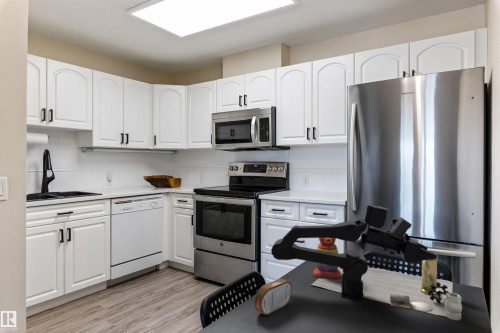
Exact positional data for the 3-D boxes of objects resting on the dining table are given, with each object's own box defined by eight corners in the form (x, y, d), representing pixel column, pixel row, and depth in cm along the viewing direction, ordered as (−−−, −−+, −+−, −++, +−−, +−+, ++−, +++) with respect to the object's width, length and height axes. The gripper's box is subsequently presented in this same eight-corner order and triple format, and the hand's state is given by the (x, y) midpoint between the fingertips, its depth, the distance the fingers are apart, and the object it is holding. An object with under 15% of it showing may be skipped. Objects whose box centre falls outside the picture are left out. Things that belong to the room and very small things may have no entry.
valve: (469, 321, 89) (448, 302, 101) (469, 298, 89) (448, 282, 101) (444, 320, 90) (426, 301, 102) (444, 297, 90) (426, 281, 102)
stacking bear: (313, 277, 123) (313, 231, 122) (313, 268, 132) (313, 226, 132) (341, 279, 120) (342, 233, 120) (340, 270, 130) (340, 227, 130)
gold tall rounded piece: (422, 294, 107) (422, 256, 107) (419, 288, 112) (420, 252, 112) (438, 296, 105) (439, 257, 105) (435, 290, 110) (436, 253, 110)
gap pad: (411, 309, 96) (411, 308, 96) (408, 301, 102) (408, 300, 102) (433, 312, 94) (433, 312, 94) (430, 304, 100) (430, 303, 100)
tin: (286, 300, 103) (286, 274, 102) (293, 303, 100) (293, 277, 100) (253, 316, 92) (253, 287, 92) (261, 320, 90) (261, 291, 90)
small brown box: (390, 305, 99) (390, 296, 99) (389, 299, 103) (389, 290, 103) (410, 308, 97) (410, 299, 97) (408, 301, 101) (408, 293, 101)
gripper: (393, 220, 95) (449, 235, 91) (382, 211, 113) (428, 222, 109) (383, 256, 96) (439, 271, 92) (374, 240, 114) (420, 253, 110)
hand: (431, 252), depth 101 cm, fingers open, 9 cm apart
